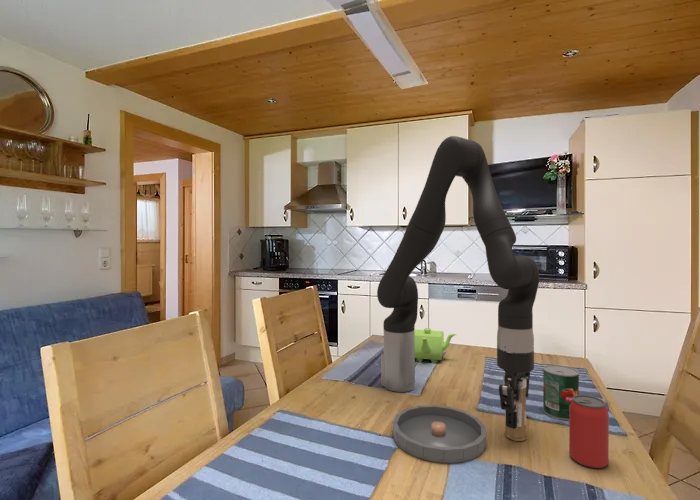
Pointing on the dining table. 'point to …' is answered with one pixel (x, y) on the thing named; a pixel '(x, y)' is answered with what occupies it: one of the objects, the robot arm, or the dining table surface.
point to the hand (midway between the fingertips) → (515, 422)
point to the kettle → (430, 344)
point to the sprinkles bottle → (518, 418)
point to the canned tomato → (559, 390)
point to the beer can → (589, 431)
